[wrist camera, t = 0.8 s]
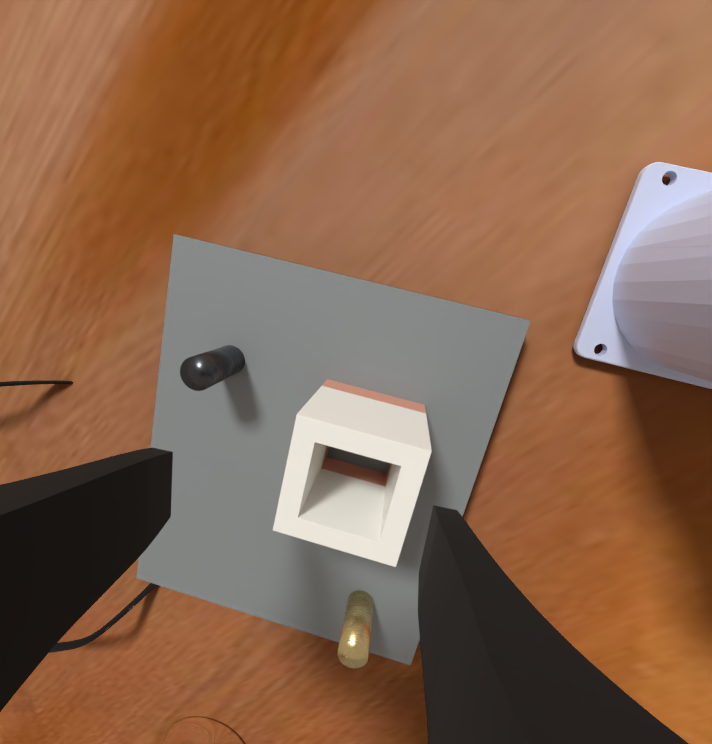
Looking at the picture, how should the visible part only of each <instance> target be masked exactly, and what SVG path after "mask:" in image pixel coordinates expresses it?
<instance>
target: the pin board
mask: <svg viewBox="0 0 712 744" xmlns="http://www.w3.org/2000/svg"><path fill="white" fill-rule="evenodd" d="M530 322H531V321H530V320H526V319H522V318H518V317H514V316H510V315H506V314H502V313H498V312H494V311H489V310H485V309H481V308H477V307H473V306H469V305H465V304H461V303H456V302H452V301H448V300H444V299H440V298H436V297H432V296H428V295H423V294H419V293H415V292H411V291H407V290H403V289H399V288H395V287H390V286H386V285H382V284H378V283H374V282H370V281H366V280H362V279H357V278H353V277H349V276H345V275H341V274H337V273H333V272H329V271H325V270H320V269H316V268H312V267H308V266H304V265H300V264H296V263H292V262H287V261H283V260H279V259H275V258H271V257H267V256H263V255H259V254H254V253H250V252H246V251H242V250H238V249H234V248H230V247H226V246H221V245H217V244H213V243H209V242H205V241H201V240H197V239H193V238H188V237H184V236H180V235H175V234H174V238H173V247H172V256H171V265H170V275H169V284H168V293H167V302H166V311H165V321H164V330H163V339H162V348H161V358H160V367H159V376H158V385H157V394H156V404H155V413H154V422H153V431H152V441H151V448H157V449H162V450H166V451H171V452H173V464H172V495H171V517H170V518H169V520H168V521H167V523H166V524H165V525H164V527H163V528H162V530H161V531H160V532H159V534H158V535H157V536H156V538H155V539H154V540H153V541H152V543H151V544H150V545H149V546H148V548H147V549H146V550H145V551H144V552H143V553H142V554H141V555H140V557H139V560H138V570H137V579H140V580H144V581H147V582H150V583H153V584H156V585H159V586H162V587H165V588H169V589H172V590H175V591H178V592H181V593H184V594H187V595H191V596H194V597H197V598H200V599H203V600H206V601H209V602H213V603H216V604H219V605H222V606H225V607H228V608H231V609H235V610H238V611H241V612H244V613H247V614H250V615H253V616H257V617H260V618H263V619H266V620H269V621H272V622H275V623H278V624H282V625H285V626H288V627H291V628H294V629H297V630H300V631H304V632H307V633H310V634H313V635H316V636H319V637H322V638H326V639H329V640H332V641H335V642H338V643H339V641H340V636H341V631H342V626H343V621H344V615H345V610H346V605H347V600H348V596H349V595H350V594H351V593H352V592H354V591H357V590H361V591H365V592H367V593H369V594H370V595H371V596H372V598H373V600H374V608H373V618H372V627H371V636H370V646H369V652H370V653H373V654H376V655H379V656H382V657H385V658H388V659H391V660H395V661H398V662H401V663H404V664H407V665H410V666H411V663H412V660H413V657H414V655H415V652H416V649H417V646H418V643H419V640H420V633H419V621H418V581H419V569H420V564H421V559H422V555H423V550H424V546H425V541H426V536H427V532H428V527H429V523H430V518H431V514H432V509H433V505H435V506H440V507H445V508H449V509H454V510H458V512H459V513H460V514H461V516H462V517H463V514H464V511H465V508H466V505H467V502H468V499H469V497H470V494H471V491H472V488H473V485H474V482H475V479H476V477H477V474H478V471H479V468H480V465H481V462H482V459H483V456H484V454H485V451H486V448H487V445H488V442H489V439H490V436H491V433H492V431H493V428H494V425H495V422H496V419H497V416H498V413H499V410H500V408H501V405H502V402H503V399H504V396H505V393H506V390H507V388H508V385H509V382H510V379H511V376H512V373H513V370H514V367H515V365H516V362H517V359H518V356H519V353H520V350H521V347H522V344H523V342H524V339H525V336H526V333H527V330H528V327H529V324H530ZM227 345H232V346H235V347H237V348H239V349H240V350H241V351H242V353H243V355H244V358H245V364H244V367H243V369H242V370H241V371H240V372H239V373H237V374H235V375H233V376H231V377H229V378H227V379H225V380H223V381H221V382H219V383H217V384H215V385H213V386H211V387H209V388H207V389H205V390H202V391H195V390H192V389H190V388H188V387H187V386H186V385H185V384H184V383H183V381H182V379H181V376H180V367H181V365H182V363H183V361H184V360H186V359H187V358H189V357H192V356H195V355H198V354H201V353H204V352H208V351H211V350H214V349H217V348H220V347H223V346H227ZM327 379H329V380H332V381H336V382H340V383H344V384H348V385H351V386H355V387H359V388H363V389H366V390H370V391H374V392H378V393H382V394H385V395H389V396H393V397H397V398H400V399H404V400H408V401H412V402H415V403H419V404H423V405H425V410H426V416H427V423H428V430H429V436H430V443H431V450H432V452H431V455H430V458H429V462H428V465H427V468H426V471H425V475H424V478H423V481H422V484H421V487H420V491H419V494H418V497H417V500H416V504H415V507H414V510H413V513H412V516H411V520H410V523H409V526H408V529H407V533H406V536H405V539H404V542H403V546H402V549H401V552H400V555H399V558H398V562H397V565H396V567H393V566H390V565H387V564H383V563H380V562H377V561H373V560H370V559H367V558H363V557H360V556H357V555H353V554H350V553H347V552H343V551H340V550H337V549H333V548H330V547H327V546H323V545H320V544H317V543H313V542H310V541H307V540H303V539H300V538H297V537H293V536H290V535H287V534H283V533H280V532H277V531H273V526H274V521H275V516H276V511H277V507H278V502H279V497H280V492H281V487H282V482H283V478H284V473H285V468H286V463H287V458H288V454H289V449H290V444H291V439H292V434H293V430H294V425H295V420H296V415H297V413H298V412H299V411H300V410H301V409H302V408H303V406H304V405H305V404H306V403H307V402H308V401H309V400H310V398H311V397H312V396H313V395H314V394H315V393H316V392H317V390H318V389H319V388H320V387H321V386H322V385H323V384H324V382H325V381H326V380H327ZM327 457H329V458H332V459H336V460H339V461H343V462H346V463H350V464H354V465H357V466H361V467H364V468H368V469H371V470H375V471H378V472H382V473H386V474H387V472H388V468H389V464H390V463H388V462H384V461H381V460H377V459H373V458H370V457H366V456H363V455H359V454H355V453H352V452H348V451H345V450H341V449H338V448H334V447H330V446H329V450H328V454H327Z"/></svg>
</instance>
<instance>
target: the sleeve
mask: <svg viewBox="0 0 712 744" xmlns="http://www.w3.org/2000/svg"><path fill="white" fill-rule="evenodd" d="M329 446H330V447H334V448H338V449H341V450H345V451H348V452H352V453H355V454H359V455H363V456H366V457H370V458H373V459H377V460H381V461H384V462H388V463H390V464H389V468H388V472H387V474H386V473H382V472H378V471H375V470H371V469H368V468H364V467H361V466H357V465H354V464H350V463H346V462H343V461H339V460H336V459H332V458H329V457H327V454H328V450H329ZM431 452H432V450H431V443H430V436H429V430H428V423H427V416H426V410H425V405H423V404H419V403H415V402H412V401H408V400H404V399H400V398H397V397H393V396H389V395H385V394H382V393H378V392H374V391H370V390H366V389H363V388H359V387H355V386H351V385H348V384H344V383H340V382H336V381H332V380H329V379H327V380H326V381H325V382H324V384H323V385H322V386H321V387H320V388H319V389H318V390H317V392H316V393H315V394H314V395H313V396H312V397H311V398H310V400H309V401H308V402H307V403H306V404H305V405H304V406H303V408H302V409H301V410H300V411H299V412H298V413H297V415H296V420H295V425H294V430H293V434H292V439H291V444H290V449H289V454H288V458H287V463H286V468H285V473H284V478H283V482H282V487H281V492H280V497H279V502H278V507H277V511H276V516H275V521H274V526H273V531H277V532H280V533H283V534H287V535H290V536H293V537H297V538H300V539H303V540H307V541H310V542H313V543H317V544H320V545H323V546H327V547H330V548H333V549H337V550H340V551H343V552H347V553H350V554H353V555H357V556H360V557H363V558H367V559H370V560H373V561H377V562H380V563H383V564H387V565H390V566H393V567H396V565H397V562H398V558H399V555H400V552H401V549H402V546H403V542H404V539H405V536H406V533H407V529H408V526H409V523H410V520H411V516H412V513H413V510H414V507H415V504H416V500H417V497H418V494H419V491H420V487H421V484H422V481H423V478H424V475H425V471H426V468H427V465H428V462H429V458H430V455H431Z"/></svg>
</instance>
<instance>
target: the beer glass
mask: <svg viewBox="0 0 712 744" xmlns="http://www.w3.org/2000/svg"><path fill="white" fill-rule="evenodd" d="M162 744H244V743H243V742H242V740H241V739H240V738H239V736H238V735H237V734H236V733H235V732H233V731H232V730H231V729H230V728H228V727H227V726H225V725H224V724H222V723H220V722H217V721H215V720H212V719H208V718H203V717H190V718H185V719H182V720H180V721H178V722H176V723H175V724H174V725H173V726H172V727H171V728H170V729H169V730H168V732H167V734H166V736H165V738H164V740H163V743H162Z"/></svg>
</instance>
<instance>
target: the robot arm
mask: <svg viewBox="0 0 712 744" xmlns="http://www.w3.org/2000/svg"><path fill="white" fill-rule="evenodd" d="M664 174H667V175H669V177H670V183H669V184H668V186H666V185H664V184H663V182H662V177H663V175H664ZM598 344H601V345H602V346H603V348H602V351H601V352H600V353H598V354H595V352H594V348H595V347H596V345H598ZM573 348H574V351H575V353H576V354H577V355H579V356H581V357H584V358H588V359H592V360H596V361H600V362H604V363H608V364H612V365H616V366H620V367H624V368H628V369H632V370H636V371H640V372H645V373H649V374H653V375H657V376H661V377H665V378H669V379H673V380H677V381H681V382H685V383H689V384H693V385H697V386H701V387H705V388H709V389H712V173H711V172H706V171H701V170H696V169H692V168H687V167H682V166H677V165H672V164H667V163H662V162H655V163H652V164H650V165H648V166H646V167H644V168H643V169H642V170H641V171H640V173H639V175H638V177H637V179H636V182H635V185H634V187H633V190H632V193H631V195H630V198H629V200H628V203H627V206H626V208H625V211H624V214H623V216H622V219H621V221H620V224H619V227H618V229H617V232H616V234H615V237H614V240H613V242H612V245H611V248H610V250H609V253H608V255H607V258H606V261H605V263H604V266H603V268H602V271H601V274H600V276H599V279H598V282H597V284H596V287H595V289H594V292H593V295H592V297H591V300H590V302H589V305H588V308H587V310H586V313H585V316H584V318H583V321H582V323H581V326H580V329H579V331H578V334H577V336H576V339H575V342H574V346H573ZM172 464H173V452H171V451H166V450H162V449H157V448H147V449H141V450H137V451H132V452H128V453H124V454H120V455H116V456H112V457H109V458H105V459H101V460H98V461H94V462H90V463H87V464H83V465H79V466H75V467H72V468H68V469H64V470H60V471H56V472H52V473H48V474H44V475H40V476H36V477H32V478H28V479H24V480H20V481H16V482H12V483H7V484H2V485H0V712H1V710H2V709H3V708H4V706H5V705H6V704H7V703H8V701H9V700H10V699H11V698H12V696H13V695H14V694H15V693H16V691H17V690H18V689H19V688H20V686H21V685H22V684H23V683H24V682H25V680H26V679H27V678H28V677H29V676H30V674H31V673H32V672H33V671H34V669H35V668H36V667H37V666H38V665H39V663H40V662H41V661H42V660H43V659H44V657H45V656H46V655H47V654H48V653H49V651H50V650H51V649H52V648H53V647H54V645H55V644H56V643H57V642H58V641H59V640H60V639H61V638H62V637H63V635H64V634H65V633H66V632H67V631H68V630H69V629H70V628H71V627H72V626H73V624H74V623H75V622H76V621H77V620H78V619H79V618H80V617H81V616H82V615H83V614H84V613H85V612H86V611H87V610H88V609H89V608H90V607H91V606H92V605H93V604H94V603H95V602H96V601H97V600H98V599H99V598H100V597H101V596H102V595H103V594H104V593H105V592H106V591H107V590H108V589H109V588H110V587H111V586H112V585H113V583H114V582H115V581H116V580H117V579H118V578H119V577H120V576H121V575H122V574H123V573H124V572H125V571H126V570H127V569H128V568H129V567H130V566H131V565H132V564H133V563H134V562H135V561H136V560H137V559H138V558H139V557H140V555H141V554H142V553H143V552H144V551H145V550H146V549H147V548H148V546H149V545H150V544H151V543H152V541H153V540H154V539H155V538H156V536H157V535H158V534H159V532H160V531H161V530H162V528H163V527H164V525H165V524H166V523H167V521H168V520H169V518H170V517H171V495H172ZM418 621H419V633H420V645H421V656H422V668H423V679H424V690H425V702H426V713H427V729H428V744H688V743H687V742H686V741H684V740H683V739H682V738H681V737H679V736H678V735H677V734H675V733H674V732H673V731H672V730H670V729H669V728H668V727H666V726H665V725H664V724H663V723H661V722H660V721H659V720H658V719H656V718H655V717H654V716H653V715H651V714H650V713H649V712H648V711H647V710H645V709H644V708H643V707H642V706H640V705H639V704H638V703H637V702H636V701H634V700H633V699H632V698H631V697H630V696H628V695H627V694H626V693H625V692H624V691H623V690H621V689H620V688H619V687H618V686H617V685H616V684H615V683H613V682H612V681H611V680H610V679H609V678H608V677H607V676H605V675H604V674H603V673H602V672H601V671H600V670H599V669H597V668H596V667H595V666H594V665H593V664H592V663H591V662H590V661H588V660H587V659H586V658H585V657H584V656H583V655H582V654H581V653H580V652H579V651H578V650H577V649H576V648H574V647H573V646H572V645H571V644H570V643H569V642H568V641H567V640H566V639H565V638H564V637H563V636H562V635H561V634H560V633H559V632H558V631H557V630H556V629H555V628H554V627H553V626H552V625H551V624H550V623H549V622H548V621H547V620H546V619H545V618H544V617H543V616H542V615H541V614H540V613H539V611H538V610H537V609H536V608H535V607H534V606H533V605H532V604H531V603H530V602H529V601H528V599H527V598H526V597H525V596H524V595H523V594H522V593H521V591H520V590H519V589H518V588H517V587H516V586H515V585H514V583H513V582H512V581H511V580H510V579H509V578H508V576H507V575H506V574H505V573H504V572H503V570H502V569H501V568H500V567H499V565H498V564H497V563H496V562H495V560H494V559H493V558H492V556H491V555H490V554H489V553H488V551H487V550H486V549H485V547H484V546H483V545H482V543H481V542H480V541H479V539H478V538H477V536H476V535H475V534H474V532H473V531H472V530H471V528H470V527H469V525H468V524H467V523H466V521H465V520H464V518H463V517H462V516H461V514H460V513H459V512H458V510H454V509H449V508H445V507H440V506H435V505H433V509H432V514H431V518H430V523H429V527H428V532H427V536H426V541H425V546H424V550H423V555H422V559H421V564H420V569H419V581H418Z"/></svg>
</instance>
